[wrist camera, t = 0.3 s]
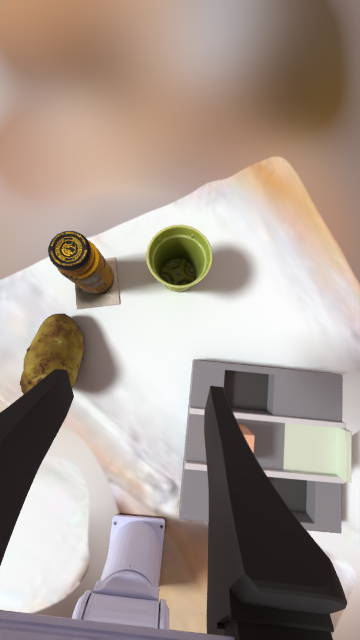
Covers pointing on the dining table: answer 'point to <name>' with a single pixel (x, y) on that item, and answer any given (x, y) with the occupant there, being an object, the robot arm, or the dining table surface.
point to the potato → (53, 351)
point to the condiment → (85, 269)
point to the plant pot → (179, 257)
